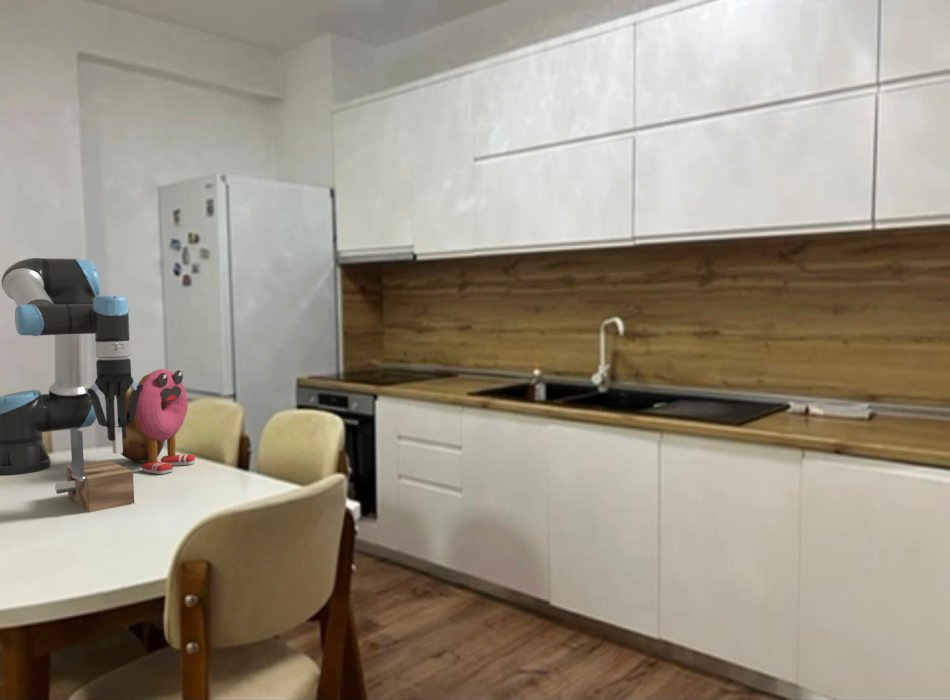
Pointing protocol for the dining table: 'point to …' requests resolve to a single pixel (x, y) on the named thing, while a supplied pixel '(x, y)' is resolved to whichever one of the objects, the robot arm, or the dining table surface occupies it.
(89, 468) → the block
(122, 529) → the dining table surface
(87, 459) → the dining table surface
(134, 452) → the butternut squash
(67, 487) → the pin
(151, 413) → the toy
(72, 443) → the silver flat rectangular plate
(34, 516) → the dining table surface
